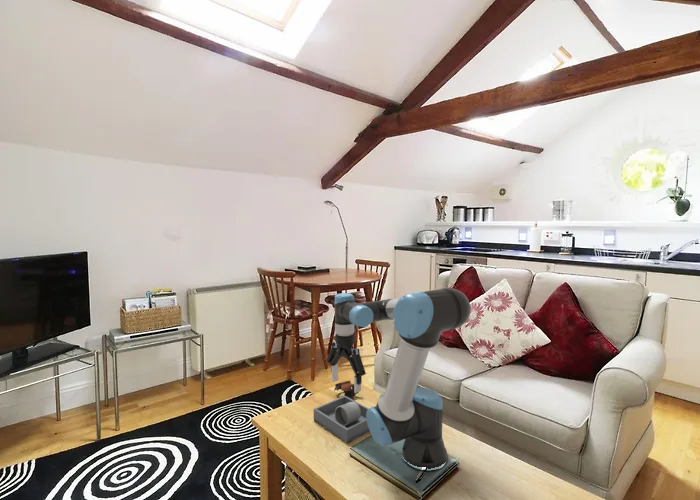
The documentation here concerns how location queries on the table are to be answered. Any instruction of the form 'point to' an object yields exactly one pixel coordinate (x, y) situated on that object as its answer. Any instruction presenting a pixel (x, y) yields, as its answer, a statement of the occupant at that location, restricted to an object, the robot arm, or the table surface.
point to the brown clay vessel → (346, 389)
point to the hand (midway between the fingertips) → (345, 386)
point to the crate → (327, 420)
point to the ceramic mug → (347, 413)
